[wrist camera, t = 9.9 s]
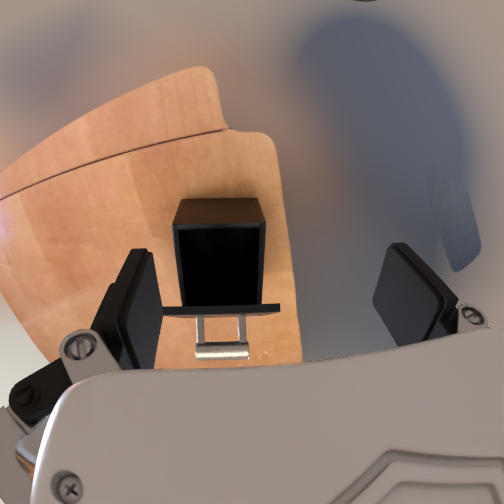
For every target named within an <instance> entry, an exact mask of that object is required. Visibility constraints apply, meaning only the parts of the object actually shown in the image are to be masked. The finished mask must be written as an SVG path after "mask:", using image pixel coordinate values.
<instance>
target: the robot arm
mask: <svg viewBox="0 0 504 504" xmlns="http://www.w3.org/2000/svg"><path fill="white" fill-rule="evenodd" d="M458 300H459V299H458V298H457V296H456V295H455V294H454V293H453V292H452V291H451V290H450V289H449V288H448V286H447V285H446V284H445V283H444V282H443V281H442V280H441V279H440V278H439V277H438V276H437V274H435V273H434V271H433V270H432V269H431V268H430V267H429V266H428V265H427V264H426V263H425V262H424V261H423V260H422V259H421V258H420V257H419V256H418V255H417V254H416V253H415V252H414V251H413V250H412V249H411V248H410V247H409V246H408V245H407V244H406V243H392V244H391V245H390V246H389V247H388V249H387V251H386V255H385V259H384V262H383V266H382V269H381V273H380V276H379V279H378V283H377V286H376V289H375V292H374V295H373V305H374V307H375V309H376V310H377V312H378V314H379V315H380V317H381V319H382V320H383V322H384V324H385V325H386V327H387V329H388V330H389V332H390V334H391V335H392V337H393V339H394V341H395V342H396V344H397V346H398V347H396V348H391V349H385V350H380V351H375V352H369V353H363V354H357V355H351V356H345V357H338V358H331V359H323V360H315V361H308V362H298V363H288V364H277V365H265V366H251V367H232V368H201V369H153V368H154V362H155V357H156V351H157V345H158V340H159V335H160V329H161V324H162V319H163V307H162V302H161V297H160V292H159V287H158V281H157V276H156V270H155V265H154V259H153V254H152V252H148V251H147V249H146V248H141V249H131V251H130V253H129V255H128V257H127V259H126V261H125V263H124V265H123V267H122V269H121V271H120V273H119V275H118V277H117V279H116V281H115V283H112V284H110V286H109V288H108V290H107V292H106V294H105V296H104V298H103V301H102V303H101V305H100V307H99V309H98V312H97V314H96V316H95V318H94V321H93V323H92V325H91V328H90V329H80V330H77V331H74V332H72V333H70V334H69V335H67V336H66V337H65V338H64V339H63V341H62V343H61V344H60V349H59V352H60V356H61V357H60V358H59V359H57V360H55V361H54V362H52V363H50V364H48V365H47V366H45V367H43V368H42V369H40V370H38V371H36V372H35V373H33V374H31V375H29V376H28V377H26V378H24V379H23V380H21V381H19V382H18V383H17V384H15V385H14V387H13V388H12V389H11V393H10V394H9V406H8V407H7V408H5V407H4V406H2V407H1V408H0V498H1V499H2V501H3V502H4V503H5V504H504V330H502V329H496V328H489V327H488V323H487V318H486V316H485V314H484V313H483V312H482V311H481V310H480V309H479V308H478V307H476V306H474V305H471V304H461V305H460V306H459V308H458V309H457V308H456V307H455V306H456V304H457V302H458Z"/></svg>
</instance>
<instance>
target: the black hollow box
mask: <svg viewBox="0 0 504 504" xmlns="http://www.w3.org/2000/svg"><path fill="white" fill-rule="evenodd" d="M172 231H173V240H174V249H175V257H176V265H177V273H178V280H179V287H180V294H181V301H182V306H229V305H256V304H262V287H263V270H264V252H265V234H266V221H265V218H264V215H263V212H262V210H261V207H260V204H259V201H258V198H214V199H183V200H181V202H180V204H179V207H178V210H177V212H176V215H175V218H174V221H173V224H172Z"/></svg>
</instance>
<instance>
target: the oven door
mask: <svg viewBox="0 0 504 504" xmlns="http://www.w3.org/2000/svg"><path fill="white" fill-rule="evenodd" d="M277 312H280V303H276V304H256V305H229V306H180V307H163V316H171V317H179V318H196V328H197V342H196V345H195V354H196V360H197V361H208V360H240V359H249V345H248V341H247V340H246V319H245V317H246V316H263V315H268V314H273V313H277ZM216 317H238V333H239V341H233V342H205V335H204V318H216Z"/></svg>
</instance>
